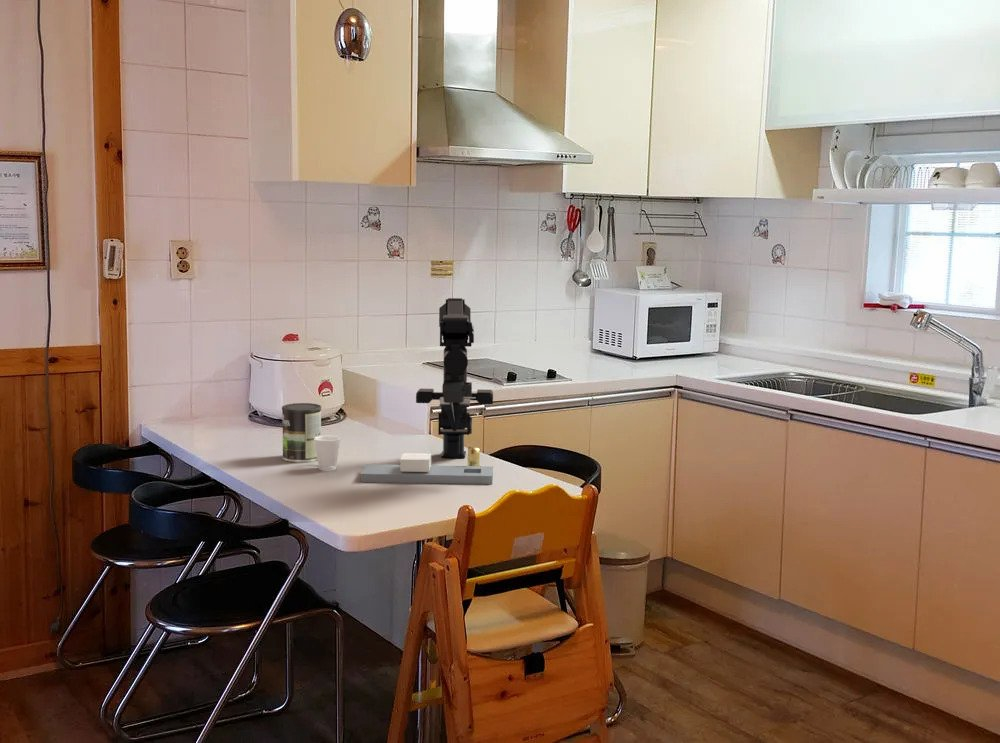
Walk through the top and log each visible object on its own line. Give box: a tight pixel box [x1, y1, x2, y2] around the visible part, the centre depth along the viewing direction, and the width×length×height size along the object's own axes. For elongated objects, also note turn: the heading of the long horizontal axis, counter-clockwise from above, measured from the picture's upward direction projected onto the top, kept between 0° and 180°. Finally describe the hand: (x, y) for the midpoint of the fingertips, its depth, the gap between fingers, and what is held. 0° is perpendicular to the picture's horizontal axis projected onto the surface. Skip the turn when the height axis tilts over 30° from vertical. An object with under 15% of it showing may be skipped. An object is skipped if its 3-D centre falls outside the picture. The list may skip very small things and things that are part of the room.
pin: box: [467, 446, 481, 466], centre depth 263 cm, size 3×3×6 cm
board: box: [360, 463, 494, 485], centre depth 255 cm, size 10×32×2 cm, turn 90°
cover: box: [399, 452, 432, 472], centre depth 255 cm, size 7×7×3 cm
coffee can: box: [281, 402, 322, 464], centre depth 273 cm, size 10×10×14 cm
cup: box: [314, 435, 341, 472], centre depth 264 cm, size 7×10×8 cm
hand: (454, 430), depth 254 cm, fingers closed
